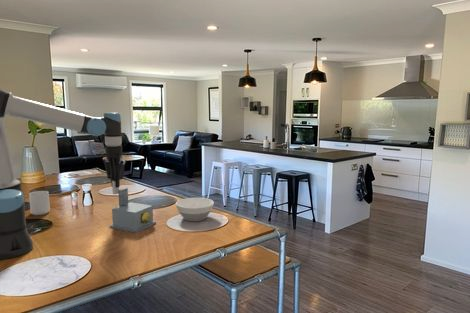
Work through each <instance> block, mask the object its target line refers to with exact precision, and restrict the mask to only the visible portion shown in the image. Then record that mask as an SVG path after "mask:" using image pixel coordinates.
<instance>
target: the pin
mask: <svg viewBox="0 0 470 313" xmlns="http://www.w3.org/2000/svg"><path fill="white" fill-rule="evenodd" d="M150 218H151V215H150V213H149V212H143V213H142V214H141V222H142V223H148V222H149V221H150Z"/></svg>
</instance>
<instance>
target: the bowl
mask: <svg viewBox="0 0 470 313" xmlns="http://www.w3.org/2000/svg"><path fill="white" fill-rule="evenodd" d="M214 204H215V202H214V200H213V199H210V198H206V197H186V198H181V199H179V200H177V201H176V202H175V206H176V208H177V211H178V212H179V214H180V215H181V217H182V218H183V219H184V220H185V221H188V222H201V221H203V220H204V221H205V220H206V219H207V217H208V216H209V214H210V213H211V211H212V210H213V207H214Z"/></svg>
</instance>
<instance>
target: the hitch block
mask: <svg viewBox="0 0 470 313" xmlns="http://www.w3.org/2000/svg"><path fill="white" fill-rule="evenodd" d="M153 207H154V206H153V205H150V204H145V203H138V202H129V201H128V204H127V205H124V206H121V207H119V205H118V206H115V207H112V209H111V214H112V216H111V217H112V224H109V228H111V229H116V230H121V231H125V232H130V233H134V232H135V233H136V234H137V233H139V232H141V231H143V230H146V229H147V228H149V227H152V226H154V225H156V224H157V221H155V220H154V215H153V214H154V208H153ZM143 212H149V213H150V215H151V218H150V221H149V222H148V223H142V222H141V214H142V213H143Z"/></svg>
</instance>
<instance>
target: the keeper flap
mask: <svg viewBox="0 0 470 313" xmlns="http://www.w3.org/2000/svg"><path fill="white" fill-rule="evenodd" d="M118 192H119V193H118V206H119V207H121V206H124V205H127V204H128V203H129V191H128V187H124V188H121V189H120V188H119V190H118Z"/></svg>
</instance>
